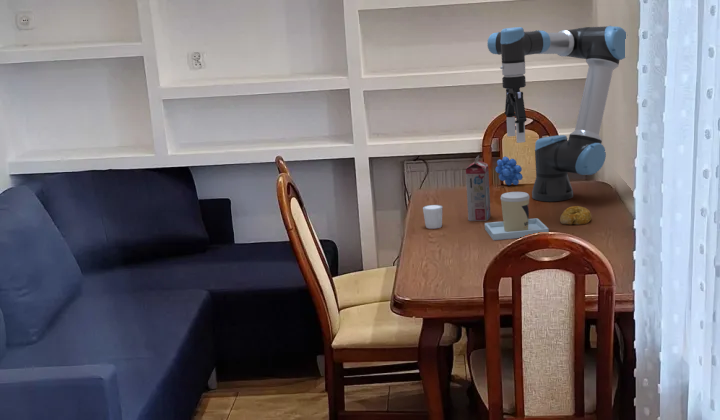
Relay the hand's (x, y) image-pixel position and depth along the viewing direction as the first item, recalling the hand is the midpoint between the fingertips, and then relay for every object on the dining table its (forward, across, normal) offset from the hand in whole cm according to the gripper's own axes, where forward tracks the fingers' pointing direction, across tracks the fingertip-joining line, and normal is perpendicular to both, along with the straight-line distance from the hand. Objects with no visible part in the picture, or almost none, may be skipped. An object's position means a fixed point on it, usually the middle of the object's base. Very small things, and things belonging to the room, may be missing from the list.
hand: (516, 139), depth 284 cm
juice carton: (+29, -9, -12) cm, 33 cm away
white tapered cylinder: (+29, -4, -29) cm, 41 cm away
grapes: (+29, -55, +9) cm, 63 cm away
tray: (+29, +12, -4) cm, 31 cm away
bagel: (+29, +6, +18) cm, 35 cm away
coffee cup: (+28, +12, -4) cm, 31 cm away
